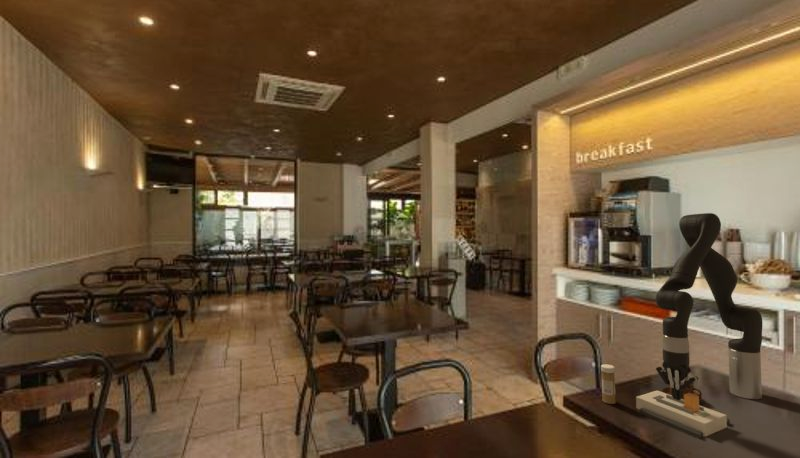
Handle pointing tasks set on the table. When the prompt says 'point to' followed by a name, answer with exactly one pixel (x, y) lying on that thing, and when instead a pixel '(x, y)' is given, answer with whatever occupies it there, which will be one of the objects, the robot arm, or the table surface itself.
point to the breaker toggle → (691, 402)
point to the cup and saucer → (684, 391)
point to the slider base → (682, 412)
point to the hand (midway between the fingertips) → (677, 399)
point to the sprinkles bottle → (608, 383)
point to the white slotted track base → (673, 423)
